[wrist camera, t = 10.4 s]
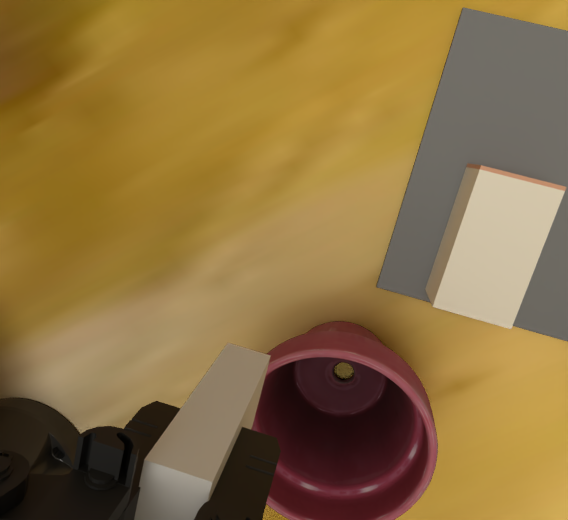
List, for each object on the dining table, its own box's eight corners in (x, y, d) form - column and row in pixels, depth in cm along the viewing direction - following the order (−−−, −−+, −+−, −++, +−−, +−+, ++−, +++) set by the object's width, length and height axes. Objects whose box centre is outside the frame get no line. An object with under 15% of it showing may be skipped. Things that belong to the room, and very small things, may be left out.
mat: (376, 285, 44) (376, 287, 44) (462, 8, 39) (463, 7, 38) (583, 344, 42) (585, 346, 42) (705, 63, 37) (709, 62, 36)
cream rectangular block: (467, 163, 40) (425, 289, 43) (481, 165, 36) (432, 306, 38) (542, 182, 40) (494, 308, 43) (566, 186, 35) (511, 329, 38)
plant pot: (264, 430, 49) (230, 524, 37) (262, 291, 46) (225, 343, 34) (415, 442, 47) (432, 547, 34) (423, 297, 44) (445, 355, 31)
